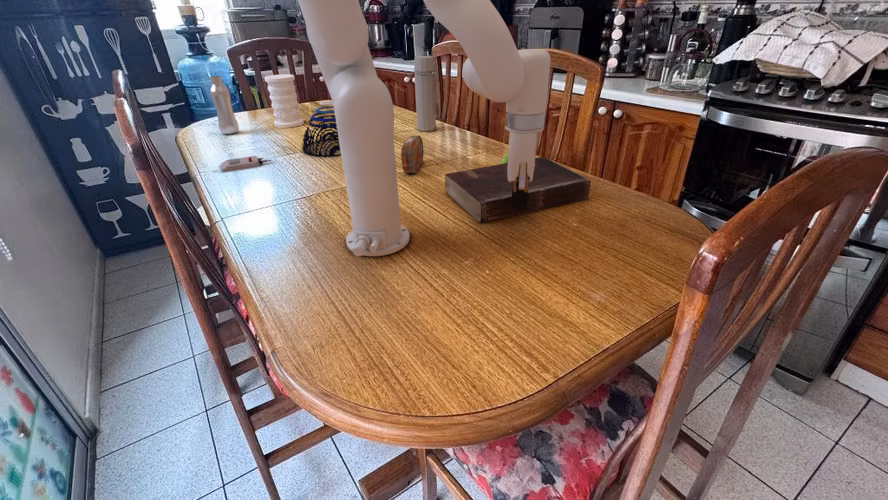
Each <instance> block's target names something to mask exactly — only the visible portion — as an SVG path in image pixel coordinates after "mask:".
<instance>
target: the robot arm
mask: <svg viewBox="0 0 888 500" xmlns="http://www.w3.org/2000/svg"><path fill="white" fill-rule="evenodd" d="M422 1H423V2H424V5H425V7H426V8H427V10H428V11H429V12H430V13H431V15H432V16H433V18H434V19H435V20H436V21H437V22H438V23H440V25H442V26H443V27H444V28H445V29H446V30H447V31H448V32H449V33H450V34H451V35H452V36H453V37H454V38H455V39H456V41H457V42H458V44H459V45H460V46H461V48H462V49H463V51H464V52H465V54H466V56H467V58H466V60H465V61H464V63H463V66H462V80H463V82H464V84H465V85H466V87H467V88H468V89H470V90H471V91H472V92H473V93H475V94H477V95H479V96H482V97H484V98H486V99H488V100H490V101H492V102H493V103H494V102H495V103H498V104H499V103H505V115H504V116H505V119H504V130H506V131H509V134H508V135H509V137H508V148H507V151H508V165H507V177H508V181H509V182H511V181H514V183H513V188H512V200H511V207H512V209H526V208H527V197H528V189H527V187H528V181H529V183H530V182H531V181H532V180H533V173H534V165H535V158H537V157H536V154H537V147H538V146H537V144H538V133H540V132H542V131H544V130H545V125H546V123H545V122H546V113H547V111H546V110H547V104H548V103H547V102H548V92H549V82H550V73H551V72H550V71H551V55H550V53H549V52H548V51H547V50H544V49H540V48H539V49H538V48H524V49H518V48H517V46H516V43H515V41H514V38H513V37H512V34H511V32H510V30H509V28H508V26H507V24H506V22H505V21H504V19H503V17H502V16H501V14H500V13H499V11H498V9H497V8H496V7H495V5H494V4H493V3H492V1H491V0H422ZM297 3H298V6H299V8H300V11H301V14H302V17H303V20H304V23H305V29H306V30H305V31H306V34H307V39H308V41H309V43H310V46H311V48H312V51H313V54H314V56H315V59H316V61H317V64H318V67H319V69H320V72H321V75H322V77H323V80H324V82H325V86H326V88H327V90H328V91H327V92H328V93H329V96H330V99H331V101H332V103H333V104H332V106H334V108H333V110H334V112H335V113H334V115H335V118H336V122H335V123H336V124H337V130H338V137H339V140H338V142H339V143H338V145H340V150H339V152H340V154H341V156H340V158H341V165H342V170H343V176H344V182H345V189H346V195H347V202H348V209H349V216H350V222H351V228H352V230H351V231H349V232H348V234H347V236H346V238H345V245H346V247H347V249H348V250H349V251H350V252H352V254H353V255H354V256H356V257H362V256H364V257H365V256H366V257H383V256H387V255H391V254H394V253H397V252H399V251H401V250H403V249H404V248H405V247H406V246H407V245H408V244H409V242H410V232H409V229H408V228H407V227H405V226H404V225H402V222H401V210H400V209H401V208H400V199H399V198H400V197H399V186H398V185H399V184H398V173H397V164H396V163H397V162H396V153H395V111H394V103H393V98H392V96H391V92H390V91H389V88H388V87H387V85H386V84H385V83H384V82H383V80H382V79H381V78H379V77H378V74H377V71H376V68H375V64H374V61H373V56H372V54H371V51H370V47H369V38H370V37H369V36H370V33H369V27H368V24H367V21H366V18H365V16H364V13H363V11H362V7H361V4H360V2H359V0H297ZM337 130H336V131H337Z"/></svg>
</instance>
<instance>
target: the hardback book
mask: <svg viewBox="0 0 888 500" xmlns="http://www.w3.org/2000/svg"><path fill="white" fill-rule="evenodd" d="M507 165H508V163H504V164H500V163H499V164H494V165H488V166H487V165H486V166H483V167H477V168H470V169H465V170H460V171H454V172H449V173H445V174H444V188H445V190H444V191H445V193H446V194H447V195H449V197H451V198H452V200H454V201H455V202H456V203H458V204H459V206H461V208H463V209H464V210H465V211H466V212H467V213H469V214H470V215H471V216H472V217H473V218H474V219H475V220H476V221H477V222H478V223H479V224H482V223H488V222H491V221H495V220H501V219H504V218H509V217H513V216H518V215H522V214H526V213H530V212H536V211H539V210H544V209H548V208H552V207H557V206H562V205H566V204H571V203H575V202H579V201H583V200H588V198H589V195H590V190H591V180H590V179H588V178H586V177H584V176H582V175H580V174H578V173H577V172H574V171H573V170H571V169H568V168H566V167H565V166H563V165H561V164H559V163H557V162H555V161H553V160H552V159H549V158H547V157H545V156H540V157H539V156H538V157H535V165H534V173H533V180H532V181H531V182H530V183H529V181H528V187H527V189H528V197H527V208H526V209H512V207H511V200H512V188H513V183H514V181H511V182H509V181H508V177H507Z"/></svg>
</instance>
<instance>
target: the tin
mask: <svg viewBox="0 0 888 500" xmlns="http://www.w3.org/2000/svg"><path fill="white" fill-rule="evenodd" d="M422 138H423V137H421V135H411V136H410V137H409V138H408V139H407V140H406V141H405V142H404V143H403V144H402V146H401V148H400V149H401V150H400V158H401V164H402V170H403V172H404V173H406V174H415V173H416V172H417V171H418V169H420V167H421V166H422V164H423V162H424V161H423V160H424V143H423V142H424V141H423V139H422Z"/></svg>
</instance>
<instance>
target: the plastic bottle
mask: <svg viewBox="0 0 888 500" xmlns="http://www.w3.org/2000/svg"><path fill="white" fill-rule="evenodd" d="M208 78H209V82H210V84H211V86H210V88H209V96H210V98H211V100H212V102H213V105H214V108H215V110H216V115H217V120H218V128H219V130H220V133H222V134H224V135H226V134H227V135H232V134H235V133H237V132H239V129H240V126H239V122H238V121H237V119H236V116H235V113H234V110H233V106H232V105H233V104H232V99H231V92H230V90H229V88H228V87H227V86H226V85H225V84H224V83H223V80H222V76H221V75H214V76H209V77H208Z"/></svg>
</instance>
